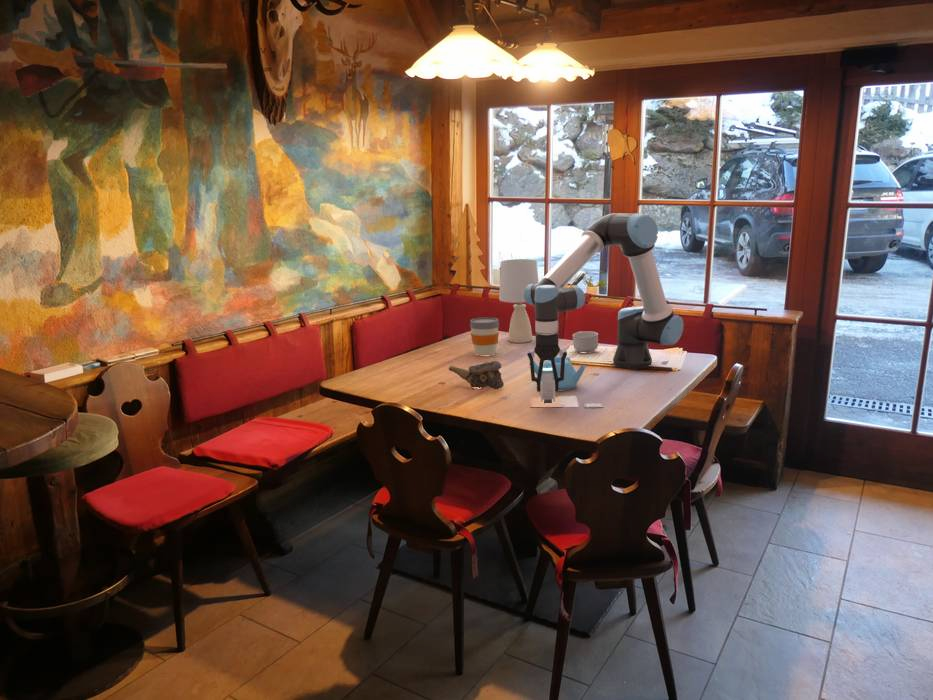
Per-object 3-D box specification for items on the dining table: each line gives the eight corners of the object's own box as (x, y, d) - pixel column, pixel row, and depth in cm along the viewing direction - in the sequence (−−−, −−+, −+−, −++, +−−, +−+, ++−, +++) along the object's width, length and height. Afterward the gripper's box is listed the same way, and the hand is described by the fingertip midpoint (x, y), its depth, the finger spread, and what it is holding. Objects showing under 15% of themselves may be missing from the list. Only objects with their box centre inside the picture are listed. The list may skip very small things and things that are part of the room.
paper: (576, 396, 264) (576, 396, 264) (578, 407, 252) (578, 406, 252) (529, 397, 265) (529, 396, 265) (530, 407, 254) (530, 407, 254)
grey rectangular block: (552, 400, 257) (552, 367, 255) (553, 403, 254) (552, 370, 251) (542, 400, 258) (542, 368, 255) (542, 403, 254) (542, 370, 252)
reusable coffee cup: (468, 357, 326) (466, 322, 323) (474, 350, 338) (473, 317, 335) (497, 357, 324) (496, 323, 320) (502, 350, 336) (501, 317, 332)
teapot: (565, 377, 289) (565, 349, 286) (587, 389, 273) (587, 359, 270) (528, 382, 284) (527, 353, 281) (548, 395, 268) (547, 364, 265)
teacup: (599, 354, 322) (599, 335, 321) (574, 355, 323) (574, 336, 321) (594, 346, 336) (594, 329, 334) (570, 347, 336) (570, 330, 334)
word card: (601, 404, 255) (601, 403, 255) (603, 407, 251) (603, 406, 251) (583, 404, 255) (583, 403, 255) (584, 408, 251) (584, 407, 251)
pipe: (500, 392, 273) (500, 365, 271) (443, 389, 280) (442, 363, 277) (506, 385, 282) (506, 359, 279) (451, 382, 288) (450, 357, 286)
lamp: (529, 346, 342) (528, 264, 333) (493, 343, 351) (490, 263, 342) (547, 338, 357) (545, 259, 349) (511, 335, 366) (509, 258, 358)
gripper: (571, 329, 253) (571, 397, 259) (521, 330, 255) (523, 397, 260) (572, 334, 246) (573, 403, 252) (521, 335, 248) (523, 404, 253)
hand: (547, 400), depth 256 cm, fingers closed on grey rectangular block, 3 cm apart
